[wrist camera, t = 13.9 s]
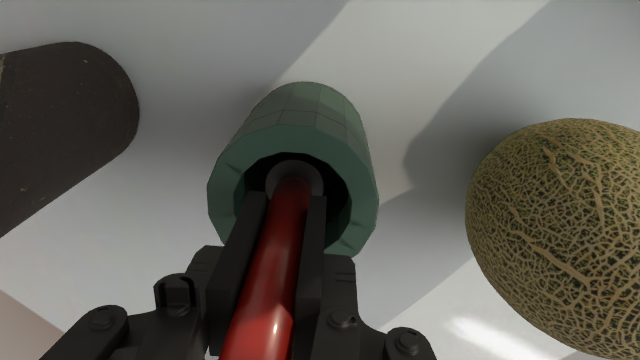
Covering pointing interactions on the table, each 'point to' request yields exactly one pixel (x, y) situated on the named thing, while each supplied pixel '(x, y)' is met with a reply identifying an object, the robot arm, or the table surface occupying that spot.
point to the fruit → (564, 231)
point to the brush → (275, 263)
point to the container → (58, 123)
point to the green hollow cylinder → (301, 137)
